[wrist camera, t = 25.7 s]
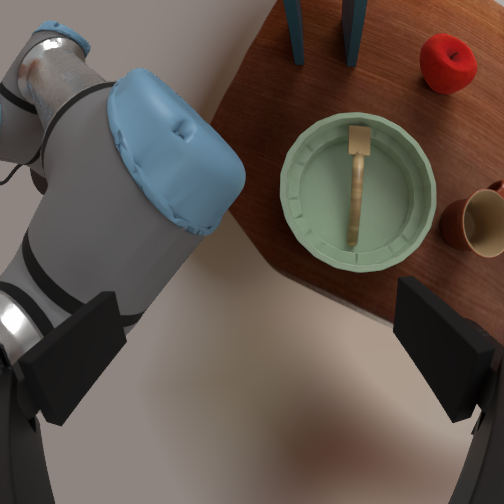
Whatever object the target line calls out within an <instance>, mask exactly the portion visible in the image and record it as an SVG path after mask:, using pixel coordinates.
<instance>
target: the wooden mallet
mask: <svg viewBox="0 0 504 504" xmlns="http://www.w3.org/2000/svg"><path fill="white" fill-rule="evenodd" d="M370 139H371V127H364V126H355V125H349V126H348V151H347V154H350V155H353V163H352V182H351V197H350V210H349V222H348V233H347V244H348V245H349V246H350V247H354V246H356V245H357V243H358V236H359V226H360V215H361V203H362V190H363V174H364V156H370Z"/></svg>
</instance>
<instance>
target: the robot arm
mask: <svg viewBox="0 0 504 504" xmlns="http://www.w3.org/2000/svg"><path fill="white" fill-rule="evenodd" d="M89 51H90V45H89V43H88V42H87V41H86V40H85V39H84V38H83V37H82V36H80V35H79V34H78V33H76V32H75V31H73V30H72V29H70V28H68V27H66V26H65V25H62V24H59V23H58V22H55V21H46V22H44V23H42V24H41V26H40V27H39V28H38V29H37V30H35V31H34V32H33V34H32V36H31V38H30V39H29V40H28V42H27V43H26V45H25V46H24V47H23V49H22V50H21V52H20V53H19V55H18V56H17V57H16V59H15V61H14V62H13V63H12V65H11V67H10V68H9V70H8V71H7V73H6V75H5V76H4V78H3V80H2V82H1V83H0V160H1V161H7V162H12V163H17V164H18V165H17V166H16V167H15V168H14V169H13V170H12V172H11V173H10V174H9V176H8V177H7V178H6V179H5V180H4V181H2V182H0V185H3V184H5V183H7V182H8V181H9V179H10V178H11V177H12V175H13V174H14V173H15V172H16V170H17V169H18V168H19V167H21V166H22V165H27V166H28V167H30V168H31V169H32V170H34V171H35V172H36V173H38V174H39V175H40V176H42V177H44V178H46V180H47V183H48V188H47V191H46V193H45V194H44V196H43V198H42V200H41V202H40V204H39V206H38V208H37V210H36V212H35V214H34V216H33V218H32V220H31V222H30V224H29V227H28V229H27V231H26V233H25V236H24V238H23V241H22V244H21V245H20V247H19V249H18V251H17V253H16V255H15V257H14V258H13V260H12V261H11V263H10V264H9V266H8V267H7V268H6V270H5V271H4V272H3V273H2V275H1V276H0V504H55V501H54V497H53V493H52V489H51V485H50V480H49V476H48V471H47V466H46V461H45V456H44V451H43V444H42V437H41V430H40V423H39V421H38V419H37V417H36V414H37V413H38V412H42V414H43V416H44V418H45V419H46V421H47V422H49V423H52V424H56V425H59V426H62V425H63V424H64V422H65V421H66V419H67V418H68V417H69V416H70V414H71V413H72V412H73V410H74V409H75V408H76V406H77V405H78V404H79V402H80V401H81V399H82V398H83V397H84V396H85V394H86V393H87V392H88V391H89V389H90V388H91V387H92V385H93V384H94V383H95V381H96V380H97V379H98V377H99V376H100V375H101V374H102V372H103V371H104V370H105V369H106V367H107V366H108V365H109V364H110V362H111V361H112V360H113V359H114V357H115V356H116V355H117V353H118V352H119V351H120V350H121V348H122V347H123V346H124V345H125V343H126V342H127V340H126V335H127V334H128V333H129V332H130V331H131V329H132V328H133V327H134V326H135V325H136V324H137V323H138V321H139V320H140V318H141V317H142V315H143V313H144V312H145V311H146V310H147V308H148V307H149V306H150V305H151V303H152V302H153V301H154V300H155V298H156V297H157V296H158V294H159V293H160V292H161V291H162V289H163V288H164V287H165V285H166V284H167V283H168V282H169V280H170V279H171V278H172V277H173V275H174V274H175V273H176V271H177V270H178V269H179V268H180V267H181V265H182V264H183V263H184V262H185V260H186V259H187V258H188V257H189V255H190V254H191V253H192V252H193V250H194V249H195V248H196V247H197V246H198V244H199V243H200V242H201V241H202V239H203V238H204V237H205V236H206V235H209V234H211V233H212V232H213V231H214V230H215V229H216V228H217V227H218V226H219V224H220V222H221V219H222V216H223V214H224V213H225V212H226V211H227V209H228V208H229V207H230V206H231V204H232V203H233V202H234V200H235V199H236V198H237V197H238V195H239V194H240V193H241V191H242V189H243V187H244V184H245V179H246V173H245V169H244V166H243V164H242V161H241V160H240V158H239V157H238V156H237V155H236V153H235V152H234V151H233V150H232V148H231V147H230V146H229V145H228V144H227V143H226V142H225V141H224V140H223V138H222V137H221V136H220V135H219V134H218V133H217V132H216V131H215V130H214V129H213V128H212V127H211V126H210V125H209V124H208V123H207V122H205V121H204V120H203V119H202V118H201V117H200V116H199V114H198V113H197V112H196V111H195V110H193V108H192V107H191V106H190V105H188V104H187V103H186V102H185V101H184V100H183V99H182V98H181V97H180V96H179V95H178V94H177V93H175V92H174V91H173V90H172V89H171V88H170V87H169V86H168V85H167V84H165V83H164V82H163V81H162V80H160V79H159V78H158V77H157V76H155V75H154V74H153V73H152V72H150V71H148V70H146V69H144V68H136V69H133V70H131V71H130V72H129V73H128V74H127V75H126V76H125V77H124V78H121V79H119V80H118V81H106V80H104V79H103V78H102V77H101V76H100V75H99V74H97V73H96V72H95V71H94V70H93V69H91V68H90V67H89V66H88V65H86V64H85V58H86V56H87V54H88V53H89ZM393 333H394V334H395V335H396V337H397V338H398V340H399V341H400V342H401V344H402V346H403V347H404V348H405V350H406V351H407V353H408V354H409V356H410V357H411V359H412V360H413V362H414V363H415V365H416V366H417V368H418V369H419V371H420V372H421V374H422V375H423V377H424V378H425V380H426V381H427V383H428V385H429V386H430V388H431V389H432V391H433V392H434V394H435V395H436V397H437V399H438V400H439V402H440V403H441V405H442V407H443V408H444V410H445V411H446V413H447V415H448V416H449V418H450V420H451V421H452V423H455V422H458V421H461V420H464V419H467V418H470V417H471V416H472V413H473V411H474V409H475V406H476V404H478V406H479V407H480V408H481V410H482V411H481V413H480V416H479V418H478V420H477V422H476V424H475V426H474V428H473V431H472V433H471V434H473V439H472V442H471V446H470V448H469V452H468V455H467V458H466V460H465V463H464V466H463V469H462V472H461V474H460V477H459V479H458V482H457V485H456V487H455V489H454V492H453V494H452V496H451V499H450V501H449V503H448V504H504V347H503V346H502V345H501V344H500V343H499V342H498V341H497V340H496V339H494V338H493V337H492V336H491V335H490V336H489V333H488V332H486V331H485V330H483V328H482V327H481V326H480V325H478V324H477V323H476V322H474V321H472V320H469V319H467V318H463V317H462V316H460V315H459V314H458V313H457V312H456V311H455V310H453V309H452V308H451V307H450V306H449V305H448V304H446V303H445V302H444V301H443V300H442V299H440V298H439V297H438V296H437V295H436V294H434V293H433V292H432V291H431V290H429V289H428V288H427V287H426V286H425V285H423V284H422V283H421V282H420V281H418V280H417V279H416V278H415V277H413V276H409V277H398V287H397V299H396V309H395V318H394V326H393Z"/></svg>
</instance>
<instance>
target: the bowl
mask: <svg viewBox="0 0 504 504" xmlns="http://www.w3.org/2000/svg"><path fill="white" fill-rule="evenodd" d="M349 125H355V126H364V127H371V139H370V156H364V174H363V190H362V203H361V215H360V226H359V236H358V243H357V245H356V246H354V247H350V246H349V245H348V244H347V233H348V222H349V210H350V197H351V182H352V163H353V155H350V154H347V151H348V126H349ZM280 200H281V204H282V208H283V212H284V216H285V219H286V221H287V223H288V225H289V227H290V228H291V230H292V232H293V233H294V235H295V237H296V239H297V240H298V241H299V242H300V243H301V244H302V245H303V246H304V247H305V248H306V249H307V250H308V251H309V252H310V253H311V254H312V255H313V256H314V257H316V258H317V259H319V260H321V261H323V262H325V263H327V264H329V265H331V266H333V267H335V268H337V269H342V270H348V271H353V272H359V273H361V272H371V271H380V270H383V269H386V268H388V267H390V266H393V265H395V264H397V263H400V262H402V261H403V260H404V259H405V258H407V257H408V256H409V255H410V254H411V253H412V252H414V251H415V250H416V249H417V248H418V247H419V246H420V244H421V243H422V241H423V239H424V238H425V236H426V235H427V233H428V231H429V230H430V228H431V224H432V221H433V217H434V213H435V210H436V182H435V179H434V175H433V172H432V168H431V165H430V162H429V160H428V159H427V157H426V155H425V154H424V152H423V150H422V149H421V147H420V146H419V144H418V143H417V142H416V141H415V140H414V139H413V138H412V137H411V136H410V135H409V134H408V133H407V132H406V131H405V130H404V129H402V128H401V127H400V126H398V125H396V124H394V123H392V122H390V121H388V120H386V119H384V118H383V117H380V116H375V115H371V114H366V113H361V112H355V113H341V114H336V115H333V116H330V117H328V118H325V119H322V120H320V121H317V122H316V123H315V124H313V125H312V126H311V127H309V128H308V129H307V130H306V131H304V132H303V133H302V134H300V136H299V137H298V138H297V140H296V141H295V143H294V144H293V146H292V147H291V148H290V150H289V151H288V153H287V156H286V159H285V162H284V165H283V168H282V171H281V174H280Z"/></svg>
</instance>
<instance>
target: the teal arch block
mask: <svg viewBox="0 0 504 504" xmlns="http://www.w3.org/2000/svg"><path fill="white" fill-rule="evenodd" d="M283 2H284V6H285V12H286V17H287V22H288V27H289V33H290V38H291V44H292V50H293V56H294V62H295V65H304V46H303V23H302V12H301V4H300V0H283ZM366 6H367V0H343V1H342V19H341V20H342V27H343V35H344V44H345V53H346V63H347V66H351V67H356V63H357V57H358V52H359V47H360V41H361V36H362V30H363V24H364V18H365V12H366Z"/></svg>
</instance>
